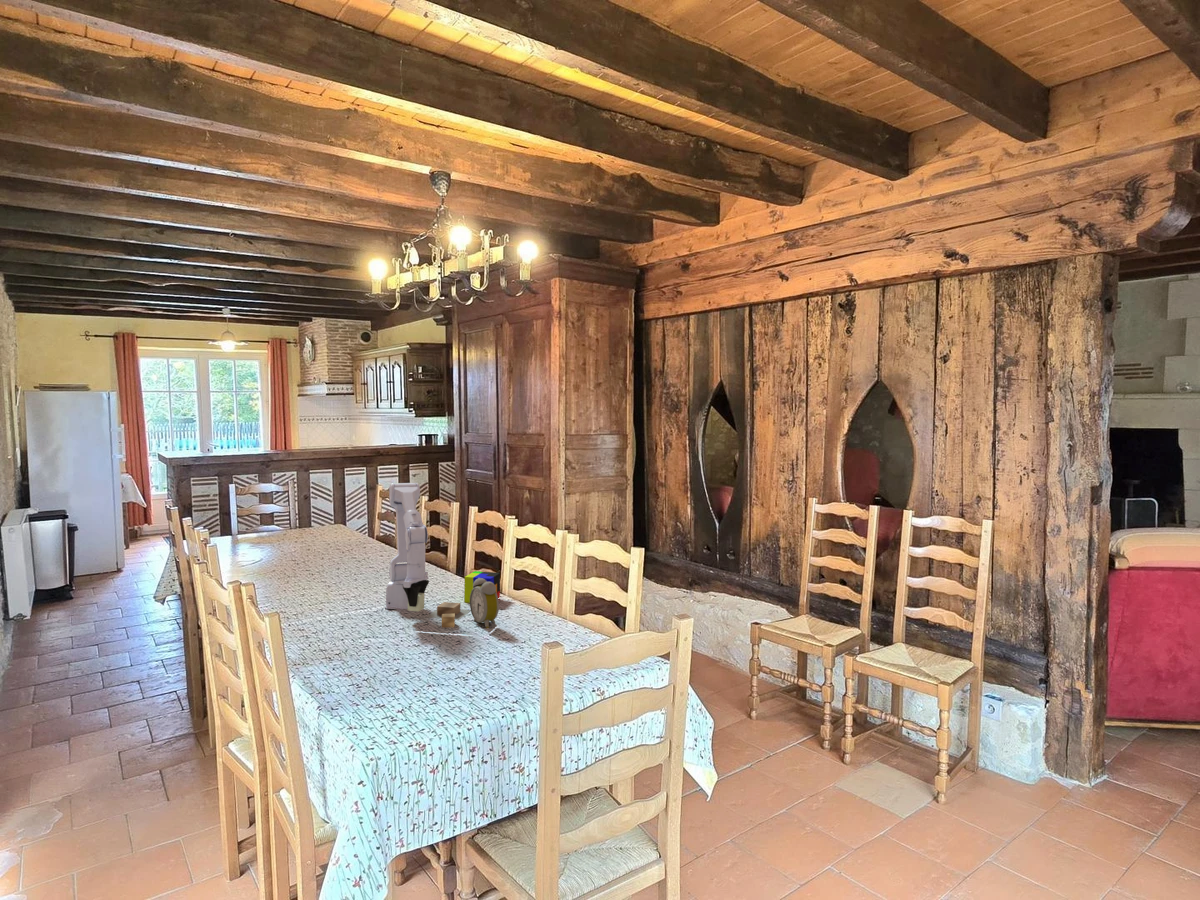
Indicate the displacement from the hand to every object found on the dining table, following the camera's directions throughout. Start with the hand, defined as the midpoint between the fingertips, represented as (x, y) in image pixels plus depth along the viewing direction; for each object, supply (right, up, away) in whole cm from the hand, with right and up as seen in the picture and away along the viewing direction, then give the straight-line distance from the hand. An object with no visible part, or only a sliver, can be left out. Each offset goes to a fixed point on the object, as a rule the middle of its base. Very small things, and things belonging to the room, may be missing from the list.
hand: (415, 604), depth 232 cm
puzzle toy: (+17, -6, +29) cm, 34 cm away
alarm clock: (+23, -7, -1) cm, 24 cm away
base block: (+9, -5, +10) cm, 14 cm away
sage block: (0, -2, 0) cm, 2 cm away
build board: (+9, -6, +10) cm, 14 cm away
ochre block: (+11, -7, -4) cm, 14 cm away
